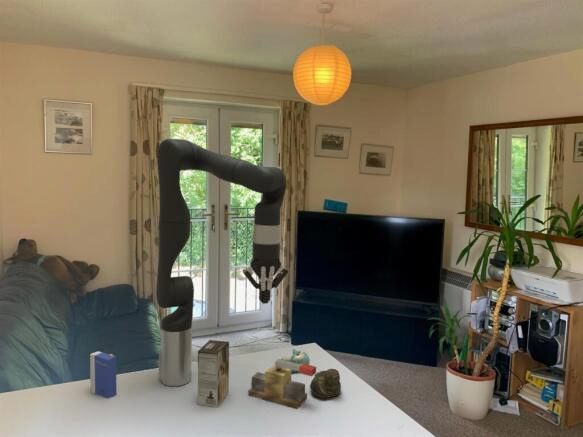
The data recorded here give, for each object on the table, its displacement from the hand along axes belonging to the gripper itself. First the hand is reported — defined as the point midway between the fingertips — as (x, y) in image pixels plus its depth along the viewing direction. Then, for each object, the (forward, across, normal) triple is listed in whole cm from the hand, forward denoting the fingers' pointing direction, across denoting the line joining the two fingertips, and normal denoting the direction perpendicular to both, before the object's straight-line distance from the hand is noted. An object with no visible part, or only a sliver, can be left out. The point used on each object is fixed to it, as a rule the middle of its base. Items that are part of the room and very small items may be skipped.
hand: (264, 302), depth 123 cm
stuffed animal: (+31, +18, +22) cm, 42 cm away
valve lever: (+22, +10, +1) cm, 24 cm away
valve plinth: (+31, +6, +4) cm, 32 cm away
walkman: (+31, -42, +21) cm, 57 cm away
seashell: (+31, +21, +4) cm, 38 cm away
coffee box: (+31, -12, +9) cm, 34 cm away
